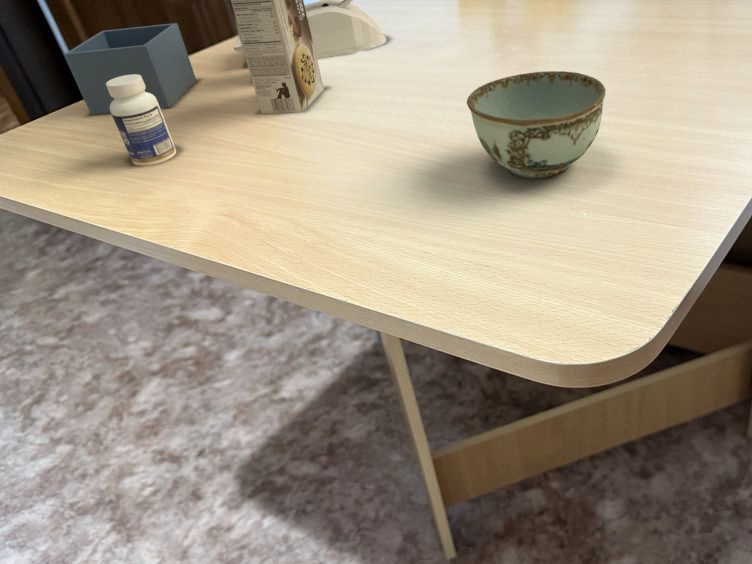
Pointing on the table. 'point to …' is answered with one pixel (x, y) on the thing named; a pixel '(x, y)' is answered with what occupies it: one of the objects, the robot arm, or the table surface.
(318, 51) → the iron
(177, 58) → the drawer
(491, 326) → the table surface
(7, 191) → the table surface
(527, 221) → the table surface
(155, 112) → the pill bottle
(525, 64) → the table surface
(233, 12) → the cookie box
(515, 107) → the bowl
